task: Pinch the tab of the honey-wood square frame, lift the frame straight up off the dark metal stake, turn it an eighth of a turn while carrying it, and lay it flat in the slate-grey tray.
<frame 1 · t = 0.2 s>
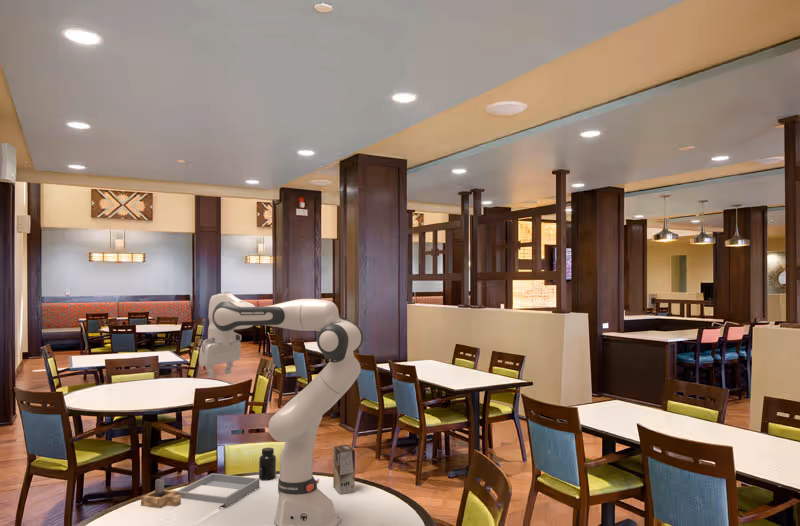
hand: (220, 375, 199), 47 cm above the table, tool pointing down, fingers open, 8 cm apart
tabbed frame: (159, 502, 199), point 1 cm above the table, touching stake
coffee box: (343, 490, 216), on the table
stake: (159, 506, 199), on the table
supplement bottle: (267, 478, 230), on the table
tray: (218, 494, 211), on the table
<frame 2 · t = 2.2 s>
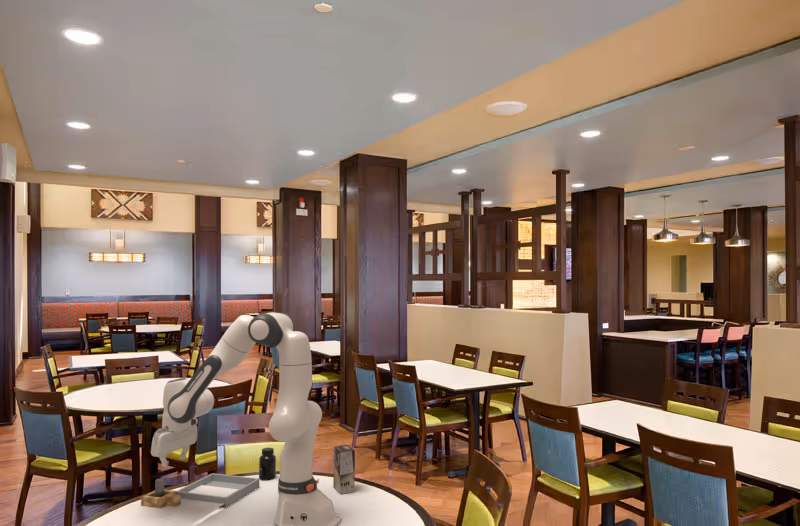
hand: (174, 462, 198), 16 cm above the table, tool pointing down, fingers open, 8 cm apart
nothing on the table moved.
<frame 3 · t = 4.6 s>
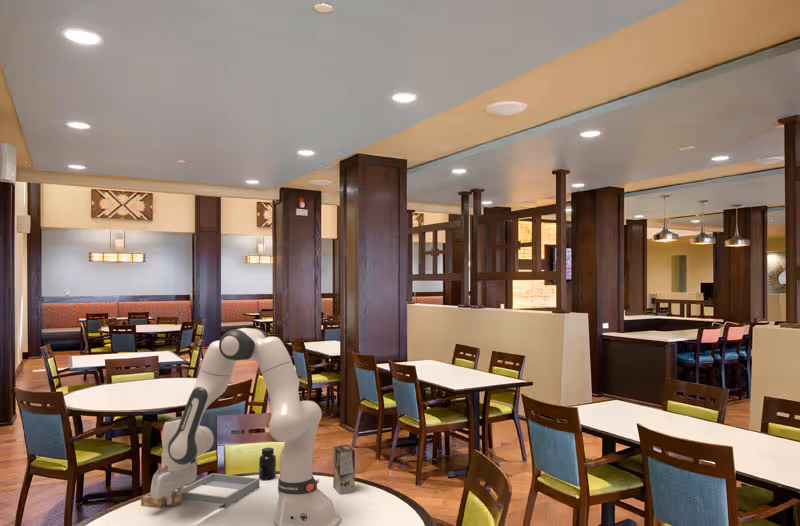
hand: (173, 502, 197), 2 cm above the table, tool pointing down, fingers closed on tabbed frame, 2 cm apart
tabbed frame: (159, 502, 199), point 1 cm above the table, touching gripper, stake
everything else where it was.
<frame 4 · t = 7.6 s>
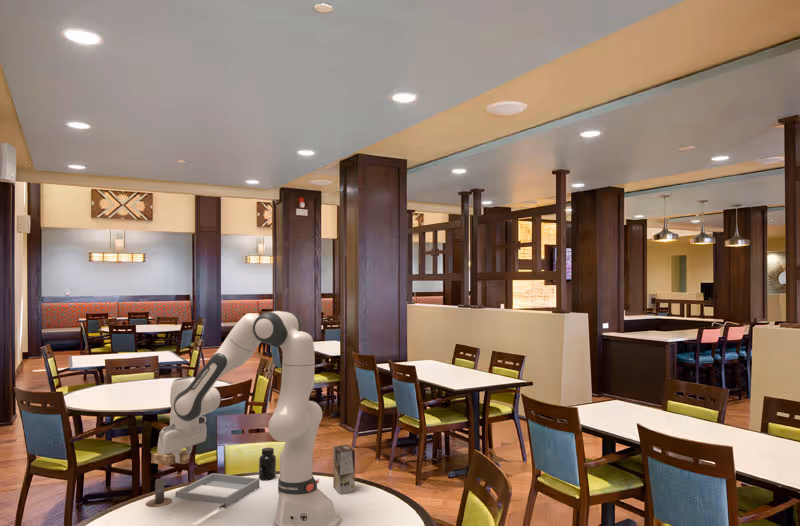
hand: (182, 460, 199), 17 cm above the table, tool pointing down, fingers closed on tabbed frame, 2 cm apart
tabbed frame: (169, 460, 202), point 16 cm above the table, touching gripper
everything else where it was.
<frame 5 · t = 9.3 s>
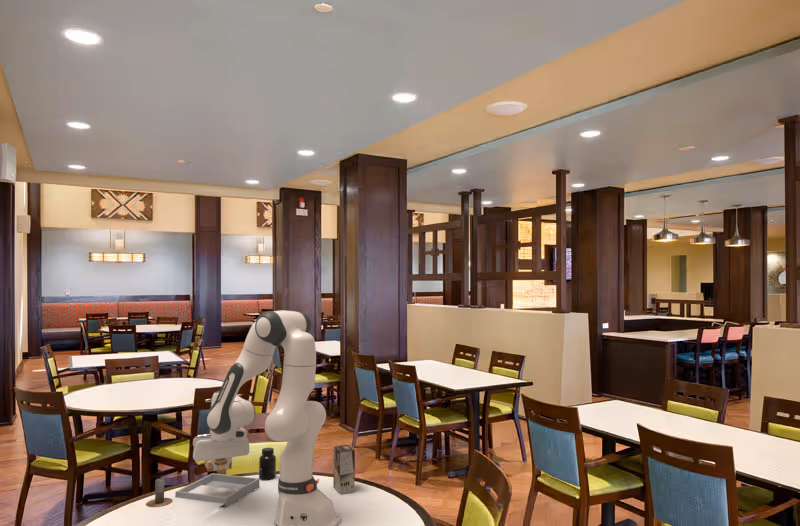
hand: (221, 469, 207), 11 cm above the table, tool pointing down, fingers closed on tabbed frame, 2 cm apart
tabbed frame: (218, 466, 212), point 10 cm above the table, touching gripper
everything else where it was.
when the fingers open (3 cm above the table, at t = 10.8 s): tabbed frame drops 1 cm, resting on tray.
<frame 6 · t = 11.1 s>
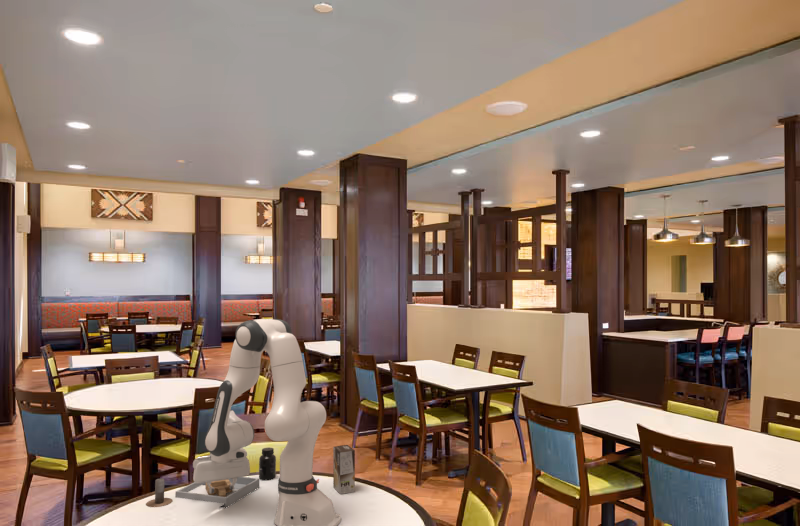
hand: (221, 491, 206), 3 cm above the table, tool pointing down, fingers open, 6 cm apart
tabbed frame: (218, 492, 211), point 1 cm above the table, touching tray
everything else where it was.
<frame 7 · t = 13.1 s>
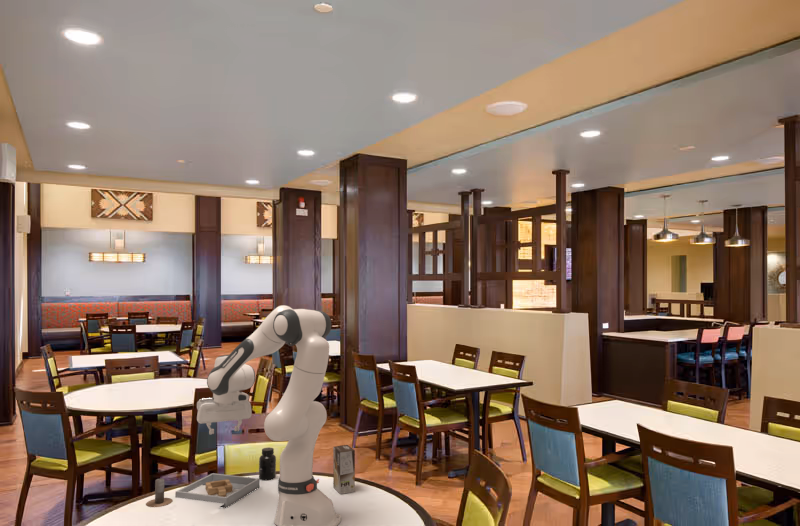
hand: (224, 432, 213), 23 cm above the table, tool pointing down, fingers open, 8 cm apart
nothing on the table moved.
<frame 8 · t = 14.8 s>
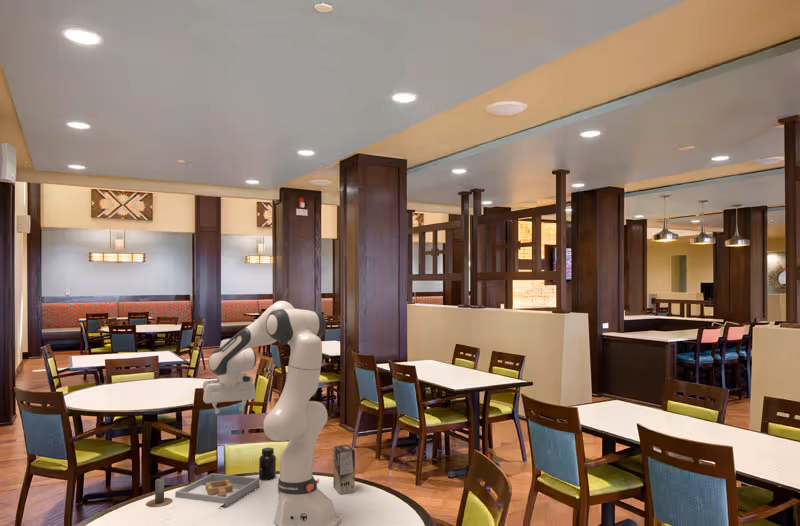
hand: (229, 412, 222), 29 cm above the table, tool pointing down, fingers open, 8 cm apart
nothing on the table moved.
at the end: tabbed frame inside the target area on the tray (0.0 cm from its centre), point 0.8 cm above the tray's base; tabbed frame tilted 0°; the gripper is holding nothing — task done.
